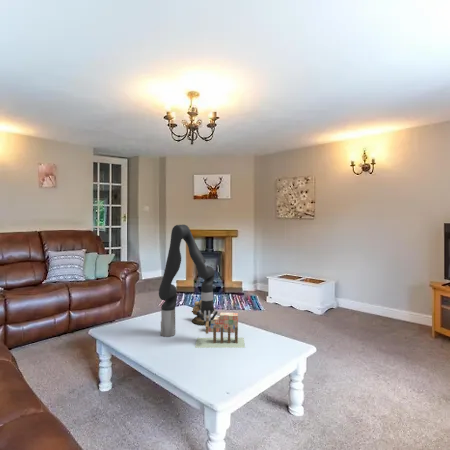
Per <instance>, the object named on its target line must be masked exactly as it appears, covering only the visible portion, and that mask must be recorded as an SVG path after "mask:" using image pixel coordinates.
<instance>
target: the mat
mask: <svg viewBox="0 0 450 450" xmlns="http://www.w3.org/2000/svg"><path fill="white" fill-rule="evenodd" d="M244 338H245V337H238V343H235V337H230V343H228V337H223V343H221V337H216V343H213V337H197V338H196V341H195V342H196V343H195V347H194V348H195V349H199V348H200V349H204V348H205V349H209V348H211V349H212V348H213V349H216V348H219V349H222V348H225V349H226V348H227V349H229V348H230V349H232V348H235V349H237V348H240V349H241V348H242V349H243V348H244V349H245V348H246V345H245V339H244Z"/></svg>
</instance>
